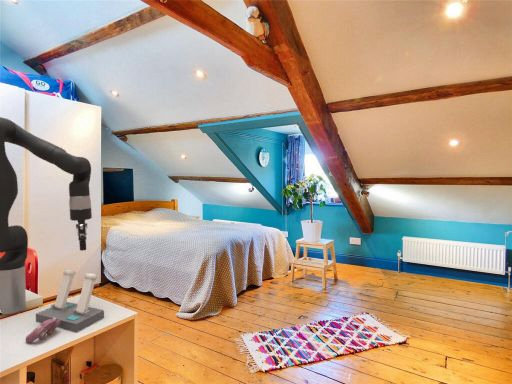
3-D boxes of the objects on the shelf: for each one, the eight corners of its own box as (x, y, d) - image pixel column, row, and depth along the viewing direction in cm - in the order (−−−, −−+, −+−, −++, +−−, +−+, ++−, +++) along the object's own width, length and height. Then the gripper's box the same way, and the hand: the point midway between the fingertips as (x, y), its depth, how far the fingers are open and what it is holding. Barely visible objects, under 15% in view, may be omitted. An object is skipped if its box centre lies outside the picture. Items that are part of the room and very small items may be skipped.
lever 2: (74, 312, 116) (85, 272, 120) (79, 312, 119) (90, 273, 122) (81, 314, 115) (92, 273, 119) (87, 314, 117) (97, 274, 121)
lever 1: (52, 307, 120) (64, 268, 124) (58, 307, 122) (69, 269, 126) (59, 309, 119) (71, 270, 123) (65, 309, 121) (76, 270, 125)
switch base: (35, 321, 117) (35, 309, 117) (65, 308, 128) (65, 297, 128) (76, 332, 110) (76, 319, 110) (103, 317, 121) (103, 306, 121)
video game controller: (33, 349, 102) (41, 331, 101) (22, 341, 103) (30, 323, 102) (58, 334, 112) (65, 317, 111) (48, 327, 112) (55, 310, 111)
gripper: (70, 206, 130) (72, 245, 131) (68, 210, 118) (71, 253, 119) (90, 205, 134) (93, 243, 135) (91, 208, 121) (94, 250, 122)
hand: (83, 247), depth 127 cm, fingers open, 8 cm apart
